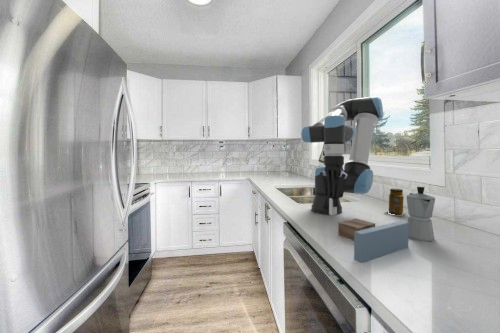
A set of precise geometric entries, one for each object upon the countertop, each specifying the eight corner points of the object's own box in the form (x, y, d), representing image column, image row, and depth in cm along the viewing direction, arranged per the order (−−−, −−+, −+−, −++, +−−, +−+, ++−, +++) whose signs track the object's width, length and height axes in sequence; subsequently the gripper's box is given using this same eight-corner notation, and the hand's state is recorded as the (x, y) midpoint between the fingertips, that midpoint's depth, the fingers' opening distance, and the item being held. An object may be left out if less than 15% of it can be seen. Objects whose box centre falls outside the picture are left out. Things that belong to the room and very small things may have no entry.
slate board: (400, 244, 80) (400, 220, 80) (408, 247, 78) (408, 222, 77) (354, 259, 70) (354, 231, 69) (361, 262, 68) (362, 234, 67)
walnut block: (355, 231, 95) (355, 218, 95) (375, 237, 88) (375, 223, 88) (338, 236, 90) (338, 222, 89) (358, 242, 83) (358, 228, 83)
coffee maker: (443, 244, 80) (445, 189, 79) (413, 243, 82) (415, 189, 80) (421, 230, 94) (422, 183, 93) (396, 229, 96) (397, 183, 95)
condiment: (405, 213, 120) (406, 189, 119) (400, 216, 114) (401, 191, 113) (389, 211, 125) (389, 187, 124) (383, 214, 119) (384, 189, 118)
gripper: (315, 155, 101) (314, 212, 102) (340, 155, 89) (339, 219, 91) (328, 155, 104) (327, 210, 106) (354, 155, 93) (353, 216, 94)
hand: (332, 214), depth 98 cm, fingers closed
